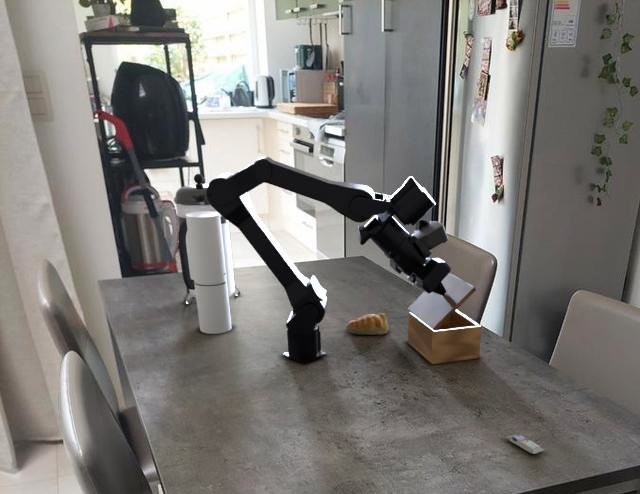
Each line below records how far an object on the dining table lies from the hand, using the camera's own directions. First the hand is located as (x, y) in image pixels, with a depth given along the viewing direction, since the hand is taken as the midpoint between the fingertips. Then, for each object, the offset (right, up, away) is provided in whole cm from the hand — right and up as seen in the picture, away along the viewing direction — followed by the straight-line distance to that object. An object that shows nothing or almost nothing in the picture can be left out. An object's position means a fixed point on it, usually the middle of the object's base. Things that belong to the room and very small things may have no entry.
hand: (444, 293), depth 142 cm
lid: (-1, -1, +1) cm, 2 cm away
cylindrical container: (-51, -3, +18) cm, 54 cm away
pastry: (-15, -4, +17) cm, 23 cm away
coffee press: (-56, +8, +37) cm, 67 cm away
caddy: (0, -10, +6) cm, 12 cm away
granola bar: (+9, -33, -31) cm, 46 cm away
